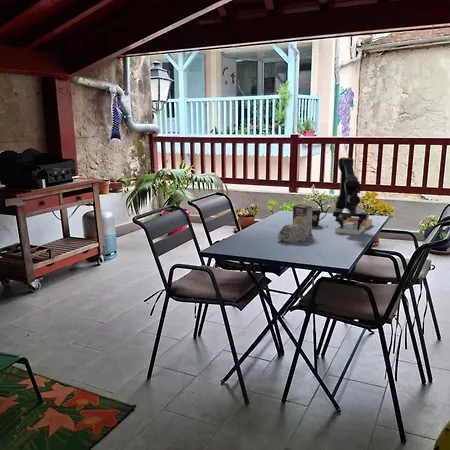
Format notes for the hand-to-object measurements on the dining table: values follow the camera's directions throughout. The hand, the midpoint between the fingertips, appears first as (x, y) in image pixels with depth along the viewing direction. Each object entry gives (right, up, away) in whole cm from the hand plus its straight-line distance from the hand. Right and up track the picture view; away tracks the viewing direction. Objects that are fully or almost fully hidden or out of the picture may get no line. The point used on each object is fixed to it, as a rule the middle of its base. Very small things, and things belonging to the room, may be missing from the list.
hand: (350, 229), depth 258 cm
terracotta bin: (+8, +2, +12) cm, 14 cm away
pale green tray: (0, -1, 0) cm, 1 cm away
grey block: (0, -1, 0) cm, 1 cm away
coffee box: (-27, -3, -3) cm, 28 cm away
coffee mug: (-16, +2, +18) cm, 24 cm away
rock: (-35, -6, -16) cm, 39 cm away
